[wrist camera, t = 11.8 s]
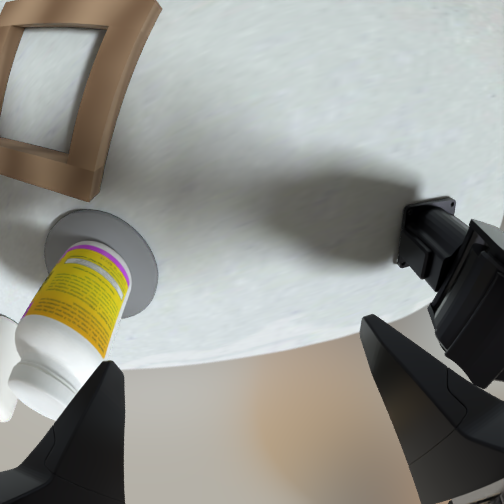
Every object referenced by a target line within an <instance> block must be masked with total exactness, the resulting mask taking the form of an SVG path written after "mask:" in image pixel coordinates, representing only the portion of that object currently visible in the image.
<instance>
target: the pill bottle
mask: <svg viewBox="0 0 504 504" xmlns="http://www.w3.org/2000/svg"><path fill="white" fill-rule="evenodd" d="M17 326H18V324H17V323H15V322H14V321H12V320H11V319H9V318H7V317H4V316H0V422H7V421H9V420H10V419H11V417H12V415H13V412H14V409H15V406H16V403H17V400H18V398H17V397H16V396H15V395H14V393H13V392H12V391H11V389H10V388H9V386H8V379H9V377H10V374H11V372H12V369H13V367H14V366H15V365H17V363H18V362H20V361H21V358H20V356H19V354H18V352H17V349H16V345H15V331H16V328H17Z"/></svg>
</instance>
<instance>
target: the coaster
mask: <svg viewBox="0 0 504 504" xmlns="http://www.w3.org/2000/svg"><path fill="white" fill-rule="evenodd" d="M81 241H95V242H99V243H102V244H105V245H107V246H109V247H110V248H112V249H113V250H114V251H116V252H117V253H118V254H119V255H120V256H121V257H122V258H123V260H124V261H125V263H126V264H127V266H128V268H129V271H130V274H131V279H132V286H131V291H130V294H129V297H128V300H127V302H126V305H125V308H124V311H123V314H122V317H121V319H123V318H128V317H131V316H134V315H136V314H138V313H140V312H141V311H143V310H144V309H145V308H146V307H147V306H148V305H149V304H150V302H151V301H152V299H153V297H154V295H155V291H156V287H157V283H158V270H157V264H156V261H155V258H154V255H153V253H152V251H151V249H150V247H149V246H148V244H147V243H146V241H145V240H144V239H143V238H142V236H141V235H140V234H139V233H138V232H137V231H136V230H135V229H134V228H133V227H131V226H130V225H129V224H128V223H126V222H125V221H123V220H121V219H120V218H118V217H116V216H114V215H112V214H109V213H106V212H102V211H97V210H79V211H75V212H72V213H70V214H68V215H66V216H64V217H63V218H62V219H60V220H59V221H58V222H57V223H56V224H55V225H54V226H53V228H52V229H51V231H50V232H49V235H48V237H47V240H46V243H45V262H46V266H47V270H48V273H49V274H50V273H51V271H52V270H53V268H54V267H55V266H56V264H57V263H58V261H59V260H60V259H61V257H62V256H63V255H64V253H65V252H66V251H67V250H68V249H69V248H70V247H71V246H72V245H74V244H75V243H78V242H81Z"/></svg>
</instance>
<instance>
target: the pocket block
mask: <svg viewBox="0 0 504 504" xmlns="http://www.w3.org/2000/svg"><path fill="white" fill-rule="evenodd" d="M161 11H162V8H161V6H160V5H159V4H158V2H157V1H156V0H15V1H10V2H6V3H5V5H4V7H3V9H2V12H1V14H0V115H1V109H2V104H3V99H4V95H5V90H6V86H7V82H8V78H9V74H10V71H11V67H12V64H13V60H14V57H15V54H16V51H17V48H18V45H19V43H20V40H21V37H22V34H23V32H24V29H25V28H26V27H78V28H92V29H102V30H107V31H106V34H105V36H104V38H103V41H102V43H101V45H100V48H99V50H98V53H97V55H96V58H95V61H94V63H93V66H92V69H91V72H90V74H89V77H88V80H87V83H86V87H85V90H84V93H83V96H82V100H81V103H80V107H79V111H78V114H77V118H76V122H75V127H74V131H73V135H72V140H71V145H70V150H69V154H67V153H63V152H59V151H56V150H52V149H48V148H44V147H40V146H36V145H32V144H28V143H24V142H19V141H15V140H11V139H6V138H2V137H0V174H1V175H4V176H7V177H10V178H13V179H16V180H20V181H23V182H26V183H29V184H32V185H35V186H39V187H42V188H45V189H48V190H51V191H54V192H58V193H61V194H64V195H67V196H70V197H73V198H77V199H80V200H83V201H86V202H90V201H91V200H92V199H93V198H94V197H95V196H96V195H97V194H98V193H99V191H100V186H101V181H102V176H103V171H104V167H105V162H106V158H107V154H108V150H109V146H110V142H111V138H112V135H113V131H114V128H115V124H116V121H117V117H118V114H119V111H120V108H121V105H122V102H123V99H124V96H125V93H126V90H127V87H128V85H129V82H130V79H131V77H132V74H133V71H134V69H135V66H136V64H137V61H138V59H139V57H140V54H141V52H142V50H143V47H144V45H145V43H146V41H147V39H148V36H149V34H150V32H151V30H152V28H153V26H154V24H155V22H156V20H157V18H158V16H159V14H160V12H161Z"/></svg>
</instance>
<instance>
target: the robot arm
mask: <svg viewBox="0 0 504 504" xmlns="http://www.w3.org/2000/svg"><path fill="white" fill-rule="evenodd" d="M455 206H456V201H455V200H454V199H452V198H447V199H441V200H435V201H429V202H423V203H417V204H411V205H407V206H406V207H405V208H404V212H403V223H402V231H401V238H400V246H399V256H398V262H397V263H398V266H399V267H400V268H405V267H408V266H410V267H411V268H412V269H413V271H414V272H415V273H416V274H417V275H418V276H419V278H421V279H425V280H426V281H427V283H428V284H429V285H430V286H431V287H432V289H433V290H434V291H435V292H437V294H436V296H435V298H434V300H433V301H432V303H430V305H429V307H428V312H429V314H430V317H431V320H432V323H433V326H434V329H435V335H436V337H437V339H438V341H439V343H440V345H441V347H442V349H443V350H444V351H445V356H446V357H447V358H449V359H451V360H452V361H454V362H455V363H456V364H457V365H458V366H459V367H460V368H462V370H463V371H464V372H465V373H466V374H467V376H468V377H469V379H470V380H471V382H472V383H473V384H472V383H470V382H469V381H467V380H466V379H464V378H463V377H461V376H460V375H458V374H457V373H455V372H454V371H453V370H451V369H450V368H447V366H446V365H444V364H443V363H441V362H440V361H439V360H437V359H436V358H435V357H433V356H432V355H431V354H429V353H428V352H426V351H425V350H424V349H422V348H421V347H419V346H418V345H417V344H415V343H414V342H412V341H411V340H410V339H408V338H407V337H405V336H404V335H402V334H401V333H400V332H398V331H397V330H396V329H394V328H393V327H391V326H390V325H389V324H387V323H386V322H384V321H383V320H381V319H380V318H379V317H377V316H376V315H374V314H371V315H367V316H364V317H363V318H362V321H361V327H360V338H361V341H362V344H363V348H364V351H365V354H366V357H367V360H368V364H369V367H370V370H371V373H372V376H373V378H374V380H375V383H376V385H377V388H378V390H379V392H380V394H381V397H382V399H383V402H384V404H385V406H386V409H387V411H388V413H389V416H390V419H391V421H392V424H393V426H394V429H395V431H396V433H397V436H398V439H399V441H400V444H401V446H402V449H403V452H404V454H405V457H406V460H407V463H408V465H409V469H410V471H411V474H412V477H413V480H414V483H415V486H416V489H417V492H418V494H419V498H420V501H421V504H436V503H440V502H443V501H446V500H450V499H452V500H451V501H449V503H448V504H504V401H502V400H500V399H498V398H496V397H495V396H492V395H491V394H489V393H487V392H486V391H484V390H482V389H485V388H487V387H488V385H489V384H491V382H492V381H493V380H496V381H502V382H504V232H503V231H502V230H500V229H499V228H498V227H496V226H493V225H490V224H487V223H484V222H481V221H477V220H474V219H471V221H470V223H469V226H467V225H466V224H465V223H463V222H462V221H461V220H459V219H458V218H457V217H455V216H454V212H455ZM409 210H410V212H408V211H409ZM477 386H478V387H477ZM479 387H480V388H482V389H480V388H479ZM124 392H125V391H124V375H123V372H122V371H121V370H120V369H119V368H118V366H117V365H116V364H115V363H114V362H113V361H111V360H109V361H102V362H101V363H100V365H99V366H98V367H97V368H96V370H95V371H94V372H93V373H92V375H91V376H90V377H89V378H88V380H87V381H86V382H85V384H84V385H83V386H82V387H81V389H80V390H79V391H78V393H77V394H76V395H75V396H74V398H73V399H72V400H71V402H70V403H69V404H68V406H67V407H66V408H65V410H64V411H63V412H62V414H61V415H60V416H59V418H58V419H57V420H56V422H55V423H54V425H53V426H52V427H51V428H50V430H49V431H48V432H47V434H46V435H45V436H44V438H43V439H42V440H41V442H40V443H39V444H38V445H37V446H36V448H35V449H34V450H33V451H32V452H31V453H30V454H29V456H28V457H27V458H26V459H25V460H24V461H23V462H22V464H20V465H19V466H18V467H16V468H14V469H11V470H7V471H3V472H0V504H125V494H124V427H125V426H124V425H125V395H124V394H125V393H124Z"/></svg>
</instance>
